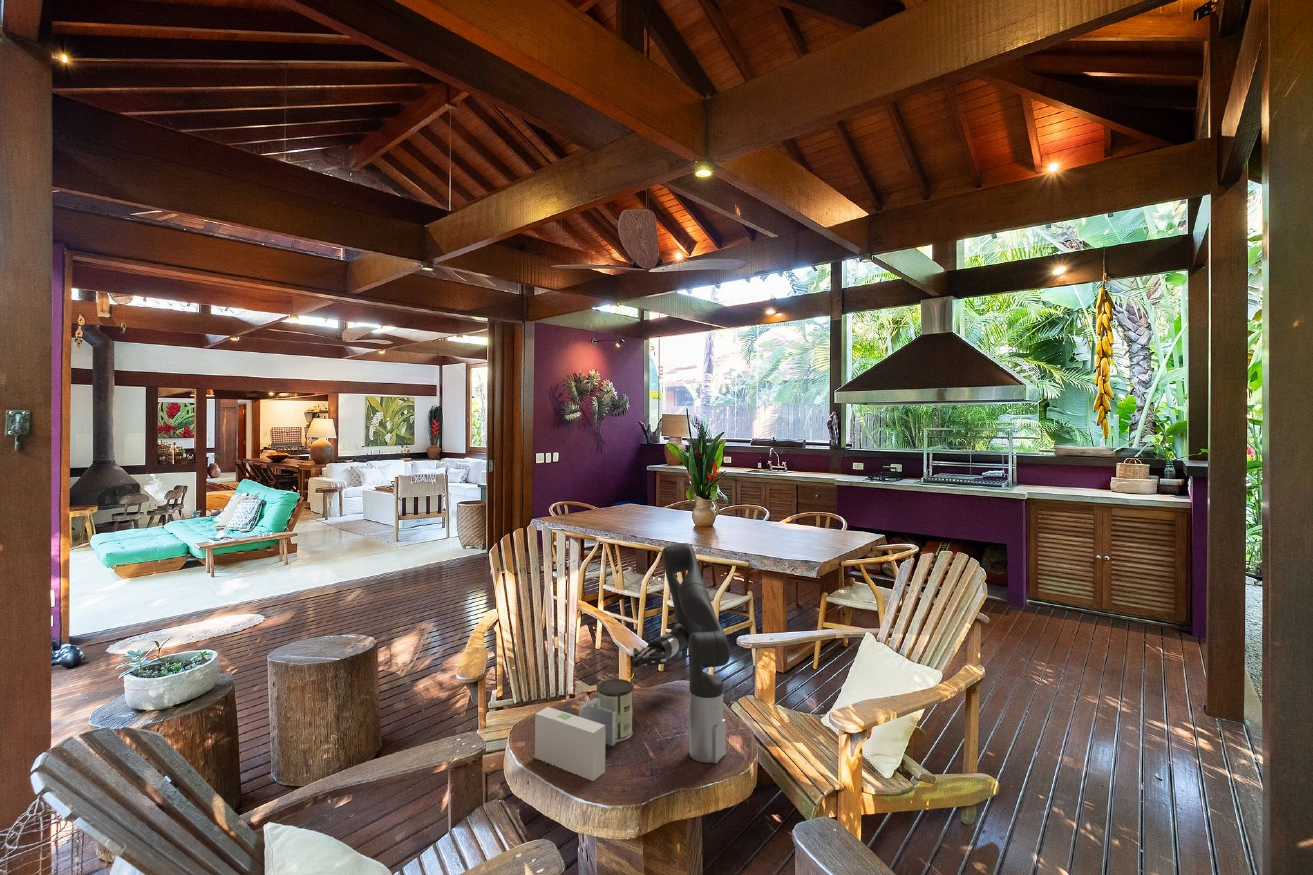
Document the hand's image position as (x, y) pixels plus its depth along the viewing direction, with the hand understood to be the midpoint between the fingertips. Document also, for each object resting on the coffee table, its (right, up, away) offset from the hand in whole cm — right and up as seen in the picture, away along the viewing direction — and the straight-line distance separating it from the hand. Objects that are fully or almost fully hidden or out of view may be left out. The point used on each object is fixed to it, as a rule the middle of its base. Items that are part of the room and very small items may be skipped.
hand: (633, 664), depth 182 cm
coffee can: (-5, -17, -9) cm, 20 cm away
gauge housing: (-16, -17, -26) cm, 35 cm away
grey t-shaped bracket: (-12, -15, -19) cm, 27 cm away
